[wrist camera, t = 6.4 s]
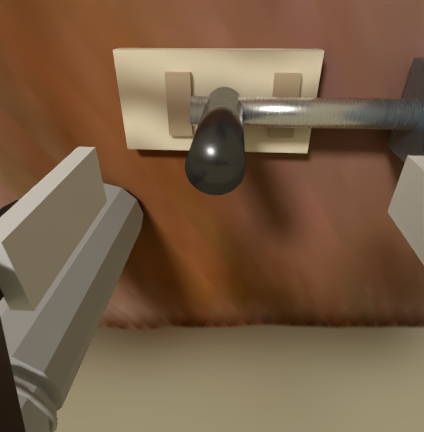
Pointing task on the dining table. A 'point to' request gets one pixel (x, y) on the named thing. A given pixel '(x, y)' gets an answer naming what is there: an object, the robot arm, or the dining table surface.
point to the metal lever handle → (293, 126)
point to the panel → (209, 91)
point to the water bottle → (69, 312)
